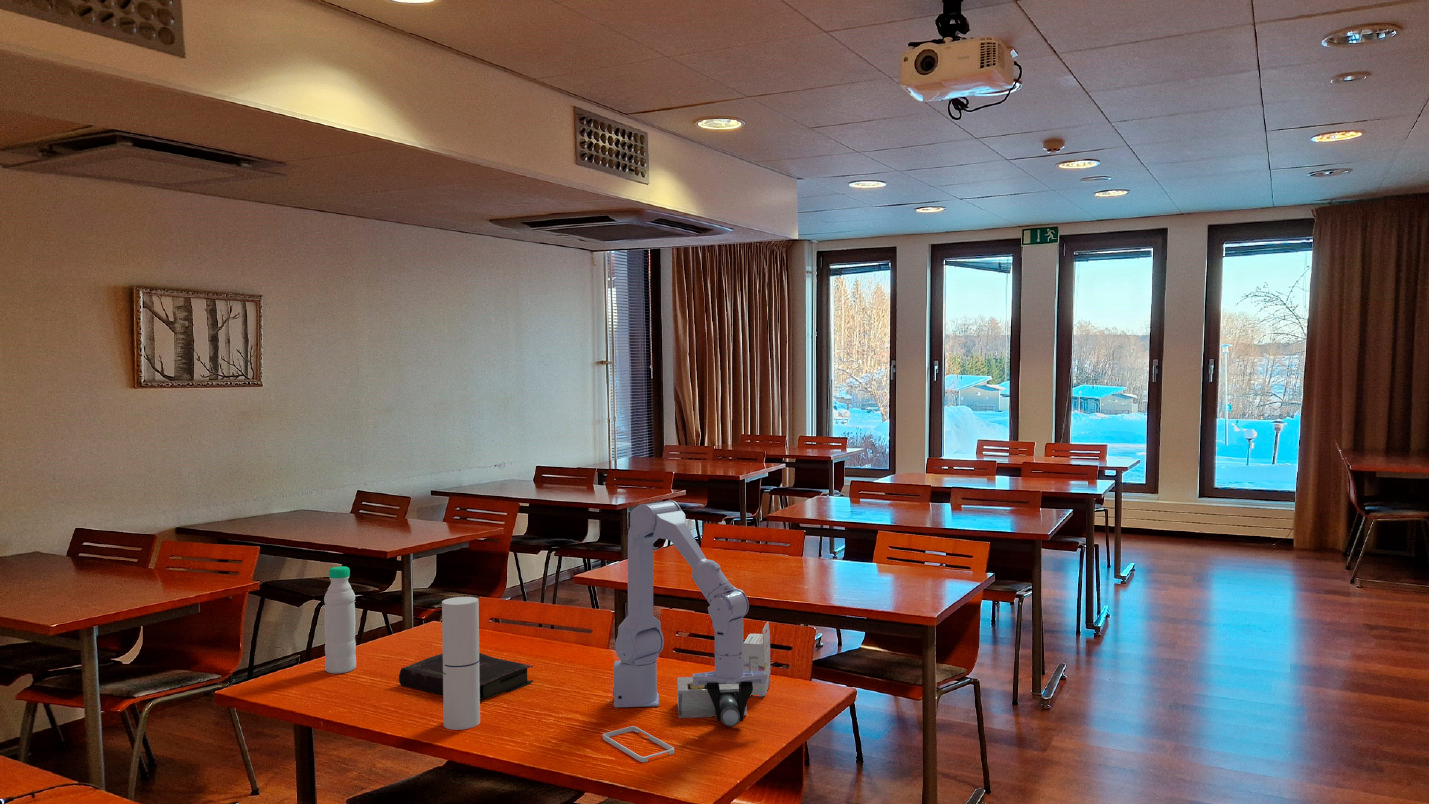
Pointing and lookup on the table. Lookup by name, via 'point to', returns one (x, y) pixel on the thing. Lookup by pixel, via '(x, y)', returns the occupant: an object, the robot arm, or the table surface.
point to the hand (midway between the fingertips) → (729, 720)
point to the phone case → (631, 753)
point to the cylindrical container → (461, 662)
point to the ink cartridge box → (758, 658)
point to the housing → (700, 699)
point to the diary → (492, 675)
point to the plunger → (696, 686)
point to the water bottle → (340, 623)
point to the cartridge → (729, 709)
